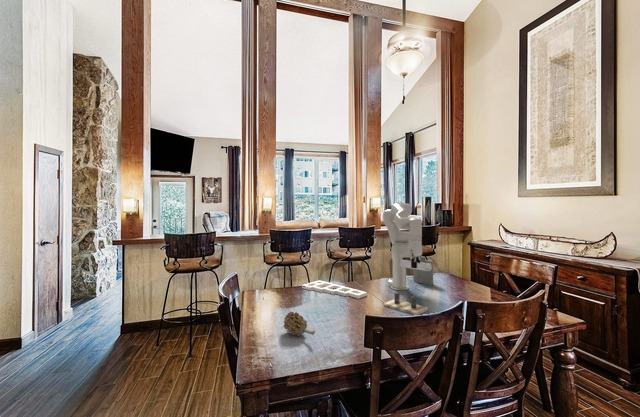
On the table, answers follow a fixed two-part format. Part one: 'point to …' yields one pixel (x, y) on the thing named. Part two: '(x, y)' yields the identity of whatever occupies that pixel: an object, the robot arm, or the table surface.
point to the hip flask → (423, 274)
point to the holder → (338, 290)
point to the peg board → (405, 305)
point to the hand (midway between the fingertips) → (415, 267)
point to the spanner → (417, 265)
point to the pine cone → (296, 324)
